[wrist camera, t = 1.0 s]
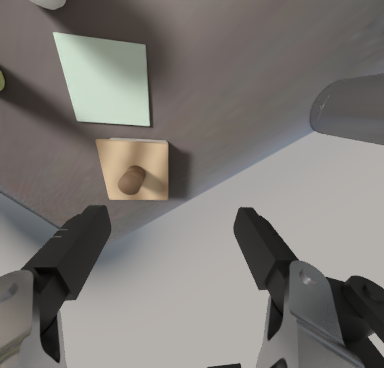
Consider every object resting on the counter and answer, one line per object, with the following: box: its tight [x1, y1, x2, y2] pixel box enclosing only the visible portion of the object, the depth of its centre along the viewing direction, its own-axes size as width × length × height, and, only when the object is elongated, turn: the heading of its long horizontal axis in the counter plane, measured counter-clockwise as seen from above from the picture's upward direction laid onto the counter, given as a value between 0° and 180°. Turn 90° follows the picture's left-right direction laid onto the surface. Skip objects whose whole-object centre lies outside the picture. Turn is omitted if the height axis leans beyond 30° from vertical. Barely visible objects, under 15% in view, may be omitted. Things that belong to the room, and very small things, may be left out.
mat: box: [53, 32, 150, 126], centre depth 23 cm, size 12×11×1 cm
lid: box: [96, 139, 168, 200], centre depth 24 cm, size 11×11×5 cm
